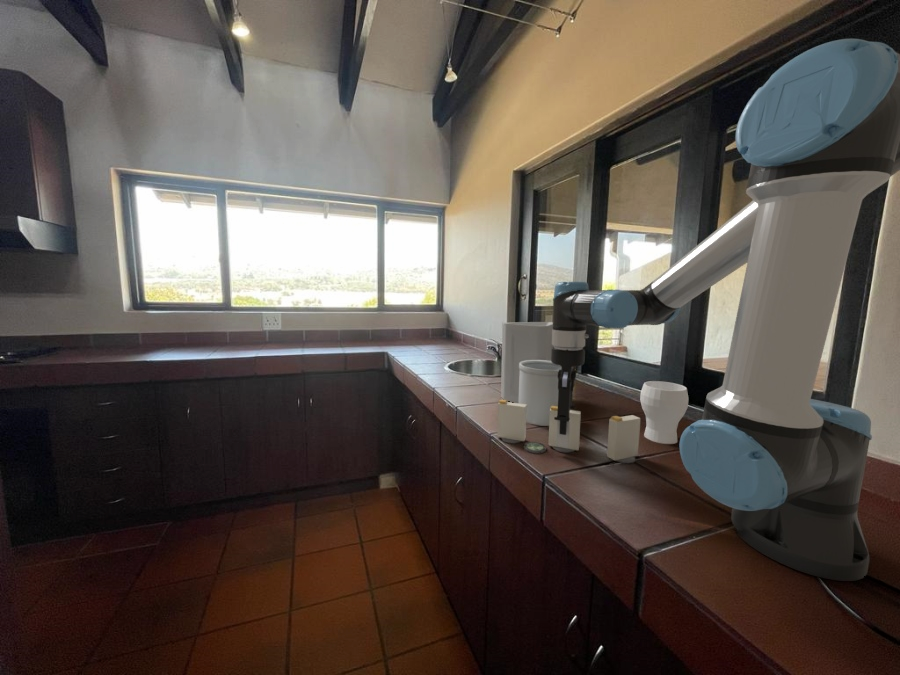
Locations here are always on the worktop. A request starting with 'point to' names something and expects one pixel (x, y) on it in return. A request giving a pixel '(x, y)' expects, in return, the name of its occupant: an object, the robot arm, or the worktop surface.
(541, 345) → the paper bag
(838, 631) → the worktop surface
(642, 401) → the cup
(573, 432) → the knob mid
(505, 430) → the cream slab
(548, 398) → the utensil holder
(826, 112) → the robot arm
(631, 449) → the slab with yellow pad
